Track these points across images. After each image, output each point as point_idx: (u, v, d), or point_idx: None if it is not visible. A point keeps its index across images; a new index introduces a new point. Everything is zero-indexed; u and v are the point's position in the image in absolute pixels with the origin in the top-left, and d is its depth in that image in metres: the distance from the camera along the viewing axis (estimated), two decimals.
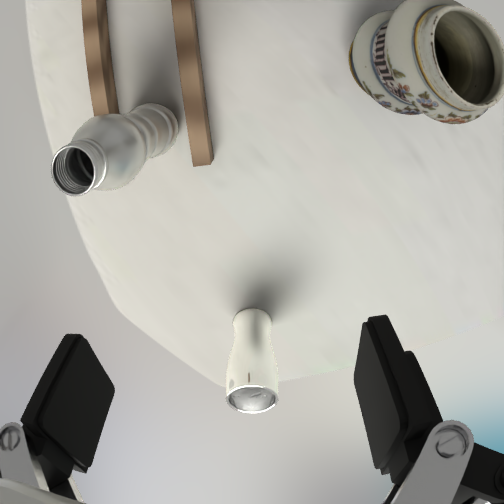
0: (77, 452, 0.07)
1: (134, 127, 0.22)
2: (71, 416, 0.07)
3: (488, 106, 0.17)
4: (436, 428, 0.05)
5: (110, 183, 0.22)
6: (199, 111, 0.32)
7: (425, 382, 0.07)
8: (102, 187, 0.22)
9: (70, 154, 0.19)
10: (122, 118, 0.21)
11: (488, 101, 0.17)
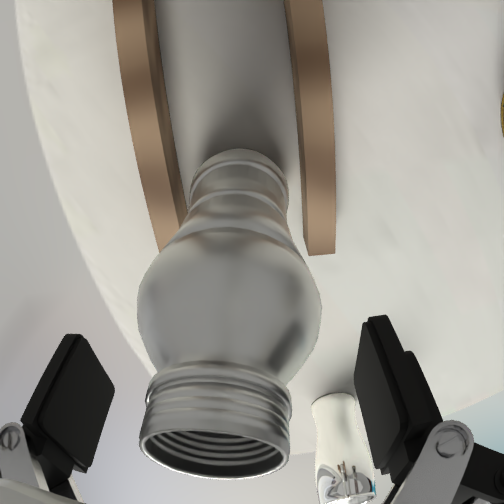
0: (77, 452, 0.07)
1: (309, 275, 0.10)
2: (71, 416, 0.07)
3: None
4: (436, 428, 0.05)
5: None
6: (329, 172, 0.20)
7: (425, 382, 0.07)
8: None
9: None
10: (283, 255, 0.10)
11: None
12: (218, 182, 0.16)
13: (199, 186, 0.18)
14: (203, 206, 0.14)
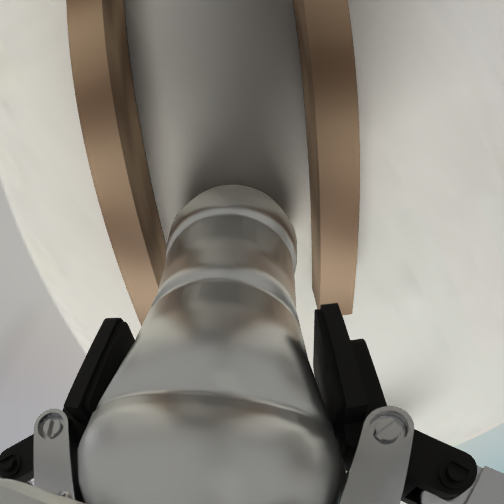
0: None
1: (333, 458, 0.05)
2: None
3: None
4: (374, 413, 0.06)
5: None
6: (351, 218, 0.15)
7: (373, 369, 0.08)
8: None
9: None
10: (294, 451, 0.05)
11: None
12: (198, 249, 0.11)
13: (175, 247, 0.13)
14: (170, 305, 0.09)
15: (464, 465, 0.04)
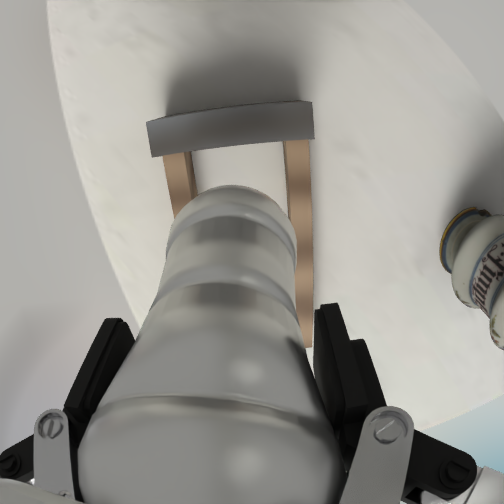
0: None
1: (334, 460, 0.05)
2: None
3: None
4: (374, 413, 0.06)
5: None
6: (309, 308, 0.35)
7: (373, 369, 0.08)
8: None
9: None
10: (294, 453, 0.05)
11: None
12: (198, 250, 0.11)
13: (174, 248, 0.13)
14: (170, 307, 0.09)
15: (464, 465, 0.04)
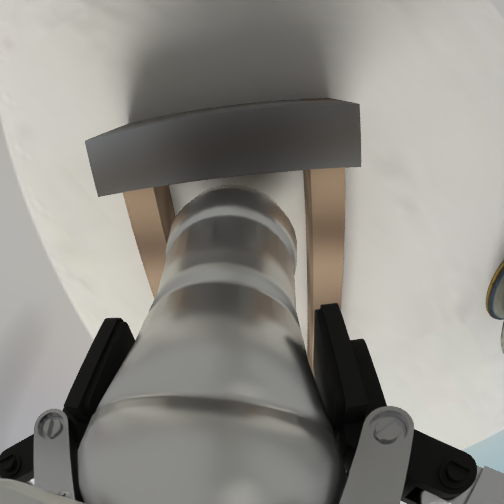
0: None
1: (334, 460, 0.05)
2: None
3: None
4: (374, 413, 0.06)
5: None
6: None
7: (373, 369, 0.08)
8: None
9: None
10: (294, 454, 0.05)
11: None
12: (198, 251, 0.11)
13: (174, 248, 0.13)
14: (170, 307, 0.09)
15: (464, 465, 0.04)
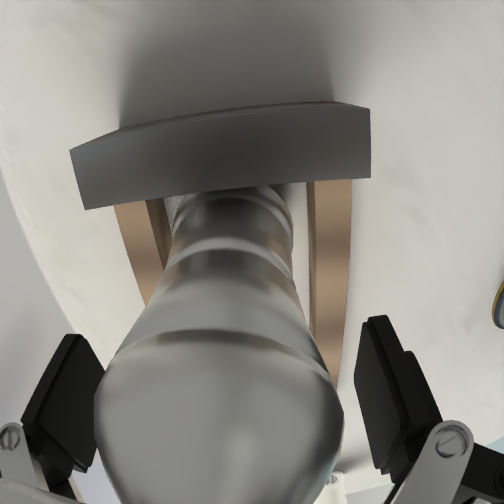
0: (77, 452, 0.07)
1: (332, 395, 0.06)
2: (71, 416, 0.07)
3: None
4: (436, 428, 0.05)
5: None
6: None
7: (425, 382, 0.07)
8: None
9: None
10: (297, 379, 0.06)
11: None
12: (205, 226, 0.12)
13: (182, 227, 0.14)
14: (182, 269, 0.10)
15: None
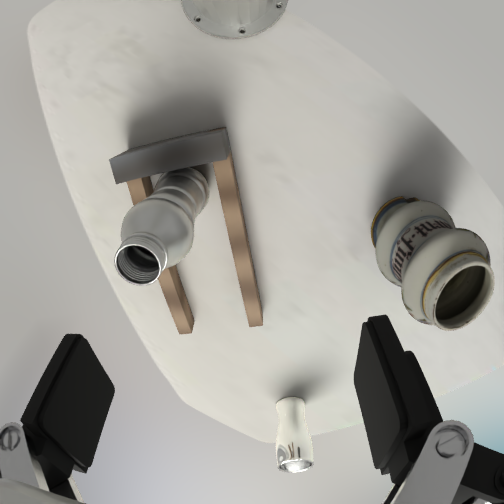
0: (77, 452, 0.07)
1: (183, 212, 0.26)
2: (71, 416, 0.07)
3: (467, 324, 0.28)
4: (436, 428, 0.05)
5: (166, 265, 0.26)
6: (253, 291, 0.44)
7: (425, 382, 0.07)
8: None
9: None
10: (171, 204, 0.25)
11: (469, 318, 0.28)
12: (162, 184, 0.32)
13: (155, 188, 0.34)
14: (151, 194, 0.29)
15: None
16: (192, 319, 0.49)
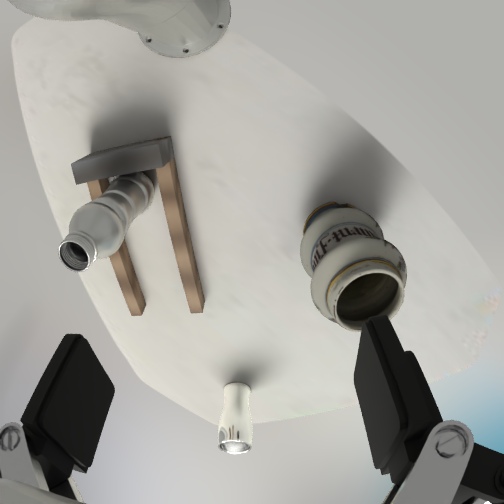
0: (77, 452, 0.07)
1: (114, 215, 0.31)
2: (71, 416, 0.07)
3: None
4: (436, 428, 0.05)
5: (100, 257, 0.31)
6: (192, 281, 0.49)
7: (425, 382, 0.07)
8: None
9: None
10: (105, 209, 0.30)
11: None
12: (110, 188, 0.37)
13: None
14: None
15: None
16: (143, 303, 0.54)
